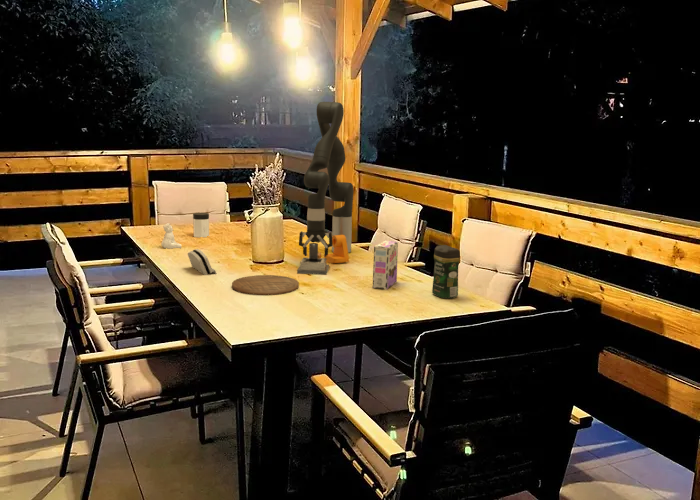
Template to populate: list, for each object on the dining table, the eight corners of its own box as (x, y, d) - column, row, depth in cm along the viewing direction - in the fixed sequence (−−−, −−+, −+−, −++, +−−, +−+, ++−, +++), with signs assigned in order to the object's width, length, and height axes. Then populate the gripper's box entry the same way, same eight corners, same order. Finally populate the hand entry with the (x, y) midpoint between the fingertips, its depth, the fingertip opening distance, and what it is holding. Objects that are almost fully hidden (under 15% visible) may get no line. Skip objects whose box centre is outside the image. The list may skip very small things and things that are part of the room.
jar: (198, 238, 351) (197, 215, 348) (189, 236, 356) (189, 213, 354) (213, 236, 357) (212, 213, 355) (204, 234, 363) (204, 212, 360)
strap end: (305, 260, 295) (305, 251, 294) (327, 261, 294) (328, 252, 293) (300, 269, 278) (300, 260, 277) (324, 270, 278) (324, 260, 277)
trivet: (225, 282, 262) (225, 277, 261) (286, 277, 271) (286, 273, 271) (241, 298, 239) (241, 293, 239) (308, 293, 249) (308, 288, 248)
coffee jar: (428, 293, 251) (430, 244, 247) (446, 291, 254) (448, 243, 250) (443, 300, 242) (445, 249, 238) (461, 298, 246) (464, 247, 242)
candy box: (386, 290, 254) (388, 247, 251) (372, 288, 256) (373, 245, 253) (397, 282, 267) (398, 241, 264) (383, 280, 269) (384, 239, 266)
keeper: (300, 267, 289) (301, 240, 287) (328, 268, 288) (329, 241, 286) (297, 273, 277) (297, 246, 275) (326, 274, 277) (326, 247, 274)
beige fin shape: (217, 274, 273) (208, 251, 270) (206, 279, 271) (197, 256, 268) (203, 265, 287) (195, 244, 284) (193, 270, 285) (185, 249, 282)
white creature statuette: (182, 248, 323) (182, 223, 321) (165, 250, 318) (164, 225, 316) (175, 245, 331) (175, 221, 329) (158, 246, 326) (157, 222, 324)
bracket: (323, 260, 305) (323, 233, 303) (337, 258, 308) (337, 232, 306) (334, 264, 296) (334, 237, 293) (348, 263, 299) (349, 236, 297)
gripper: (333, 217, 291) (332, 254, 294) (300, 216, 291) (300, 253, 294) (332, 220, 283) (331, 258, 286) (298, 219, 284) (297, 257, 287)
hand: (315, 256), depth 290 cm, fingers open, 8 cm apart
